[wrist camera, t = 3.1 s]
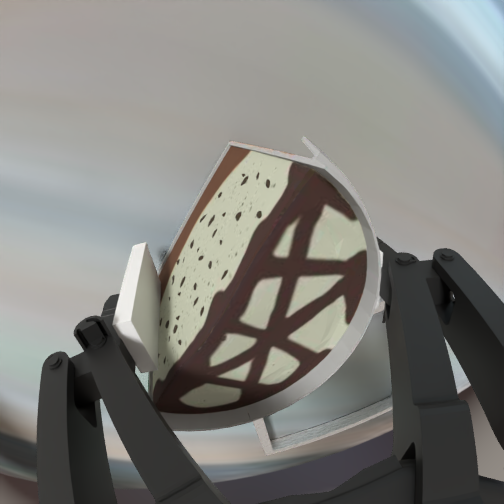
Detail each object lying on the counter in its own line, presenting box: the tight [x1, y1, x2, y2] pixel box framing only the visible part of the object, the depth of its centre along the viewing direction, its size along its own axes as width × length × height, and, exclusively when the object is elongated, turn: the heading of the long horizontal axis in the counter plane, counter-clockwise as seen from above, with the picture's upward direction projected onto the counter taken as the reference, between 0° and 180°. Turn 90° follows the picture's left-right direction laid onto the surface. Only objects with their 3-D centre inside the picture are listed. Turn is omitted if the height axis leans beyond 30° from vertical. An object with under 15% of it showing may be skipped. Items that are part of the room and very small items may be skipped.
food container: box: [148, 136, 381, 431], centre depth 14 cm, size 12×6×10 cm, turn 148°
